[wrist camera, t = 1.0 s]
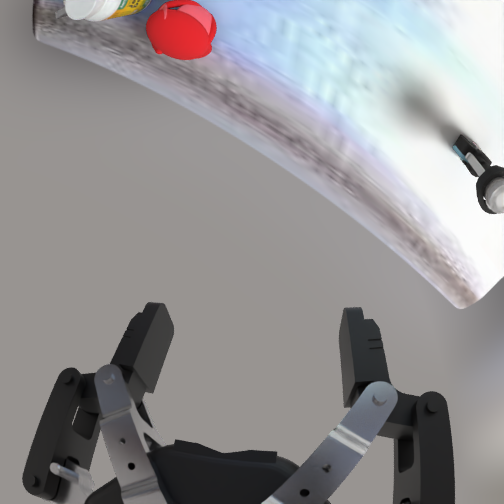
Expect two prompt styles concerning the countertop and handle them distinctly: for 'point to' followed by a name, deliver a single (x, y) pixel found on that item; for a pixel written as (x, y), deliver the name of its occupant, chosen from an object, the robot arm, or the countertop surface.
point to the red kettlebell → (181, 30)
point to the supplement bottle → (103, 8)
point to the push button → (483, 176)
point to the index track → (61, 12)
